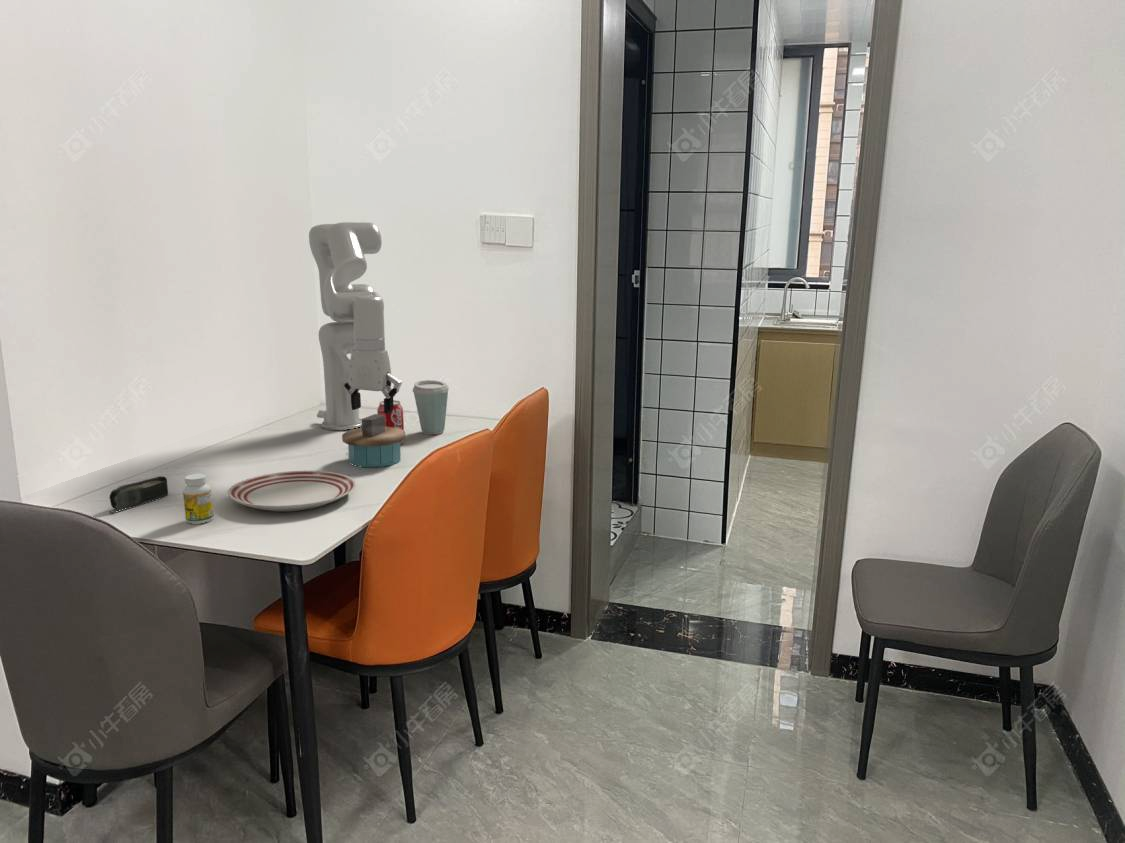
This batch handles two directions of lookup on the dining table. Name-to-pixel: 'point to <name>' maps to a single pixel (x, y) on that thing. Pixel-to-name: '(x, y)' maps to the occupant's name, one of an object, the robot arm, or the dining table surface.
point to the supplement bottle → (197, 499)
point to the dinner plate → (291, 490)
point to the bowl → (374, 455)
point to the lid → (373, 433)
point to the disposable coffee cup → (431, 405)
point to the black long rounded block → (138, 493)
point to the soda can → (393, 415)
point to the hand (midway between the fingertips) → (372, 410)
